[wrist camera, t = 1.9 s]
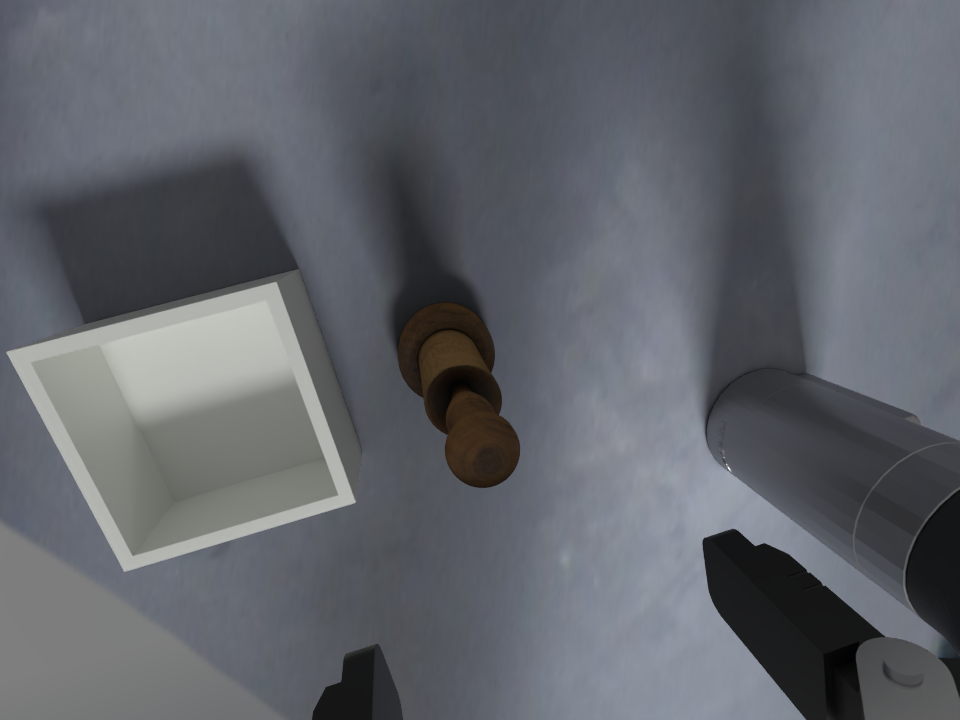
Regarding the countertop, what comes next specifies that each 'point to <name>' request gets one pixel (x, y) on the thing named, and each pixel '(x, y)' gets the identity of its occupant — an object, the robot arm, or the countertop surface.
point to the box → (198, 417)
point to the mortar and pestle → (460, 391)
